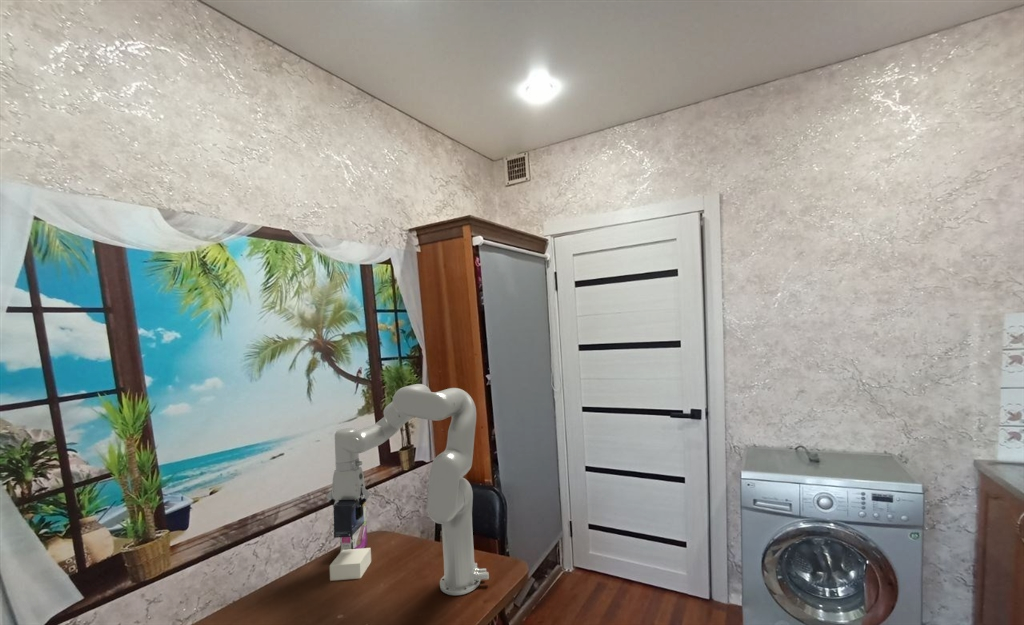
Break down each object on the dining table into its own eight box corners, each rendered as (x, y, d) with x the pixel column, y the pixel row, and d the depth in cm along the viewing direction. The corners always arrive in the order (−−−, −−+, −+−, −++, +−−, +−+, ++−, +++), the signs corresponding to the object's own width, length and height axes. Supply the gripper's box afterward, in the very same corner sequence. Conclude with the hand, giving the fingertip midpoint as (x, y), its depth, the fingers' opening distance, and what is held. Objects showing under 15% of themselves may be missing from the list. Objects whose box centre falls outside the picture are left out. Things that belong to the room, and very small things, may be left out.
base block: (371, 562, 140) (370, 547, 140) (360, 579, 130) (359, 563, 130) (343, 564, 140) (342, 549, 140) (330, 581, 130) (329, 565, 130)
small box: (352, 537, 131) (351, 504, 132) (333, 538, 131) (332, 506, 132) (365, 522, 141) (364, 492, 142) (347, 524, 141) (346, 493, 142)
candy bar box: (353, 561, 141) (351, 513, 142) (340, 561, 142) (338, 514, 143) (368, 545, 152) (366, 501, 154) (355, 545, 153) (354, 501, 154)
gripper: (376, 461, 141) (378, 513, 139) (330, 462, 142) (331, 514, 141) (365, 467, 133) (368, 522, 132) (317, 469, 135) (319, 523, 134)
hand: (349, 517), depth 136 cm, fingers closed on small box, 6 cm apart
